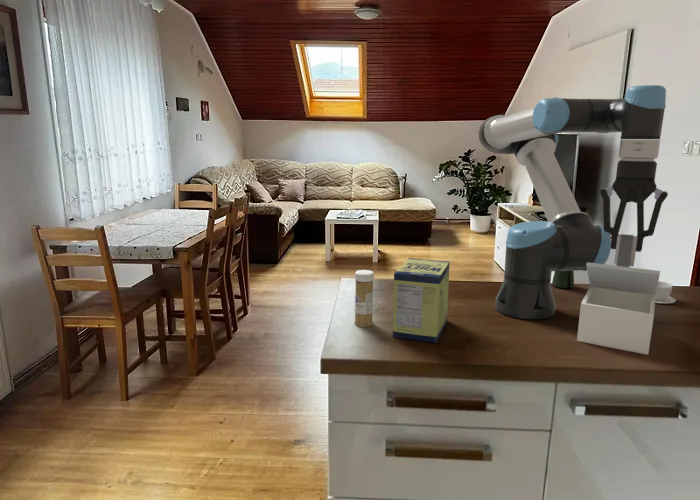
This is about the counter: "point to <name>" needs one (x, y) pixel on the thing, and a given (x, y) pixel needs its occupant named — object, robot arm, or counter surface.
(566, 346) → the counter surface
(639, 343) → the carton
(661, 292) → the teacup
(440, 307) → the protein box
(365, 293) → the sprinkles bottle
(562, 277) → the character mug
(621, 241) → the lid flap
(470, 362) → the counter surface
